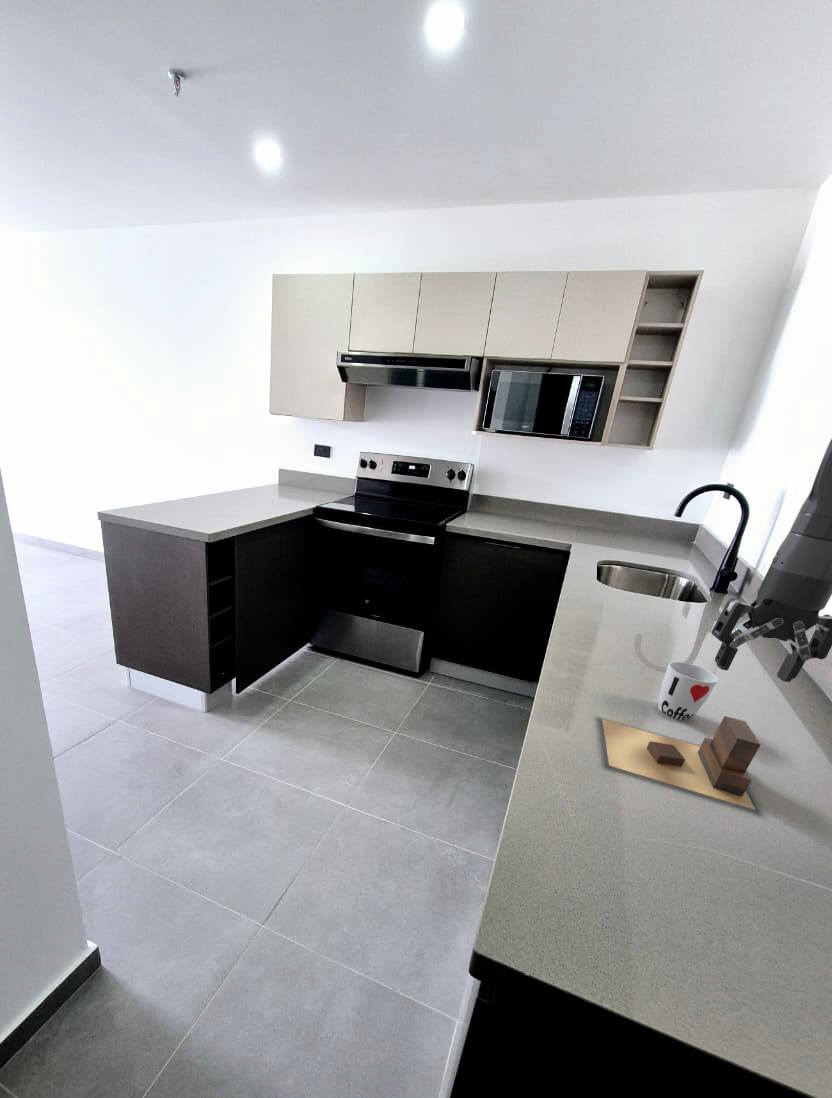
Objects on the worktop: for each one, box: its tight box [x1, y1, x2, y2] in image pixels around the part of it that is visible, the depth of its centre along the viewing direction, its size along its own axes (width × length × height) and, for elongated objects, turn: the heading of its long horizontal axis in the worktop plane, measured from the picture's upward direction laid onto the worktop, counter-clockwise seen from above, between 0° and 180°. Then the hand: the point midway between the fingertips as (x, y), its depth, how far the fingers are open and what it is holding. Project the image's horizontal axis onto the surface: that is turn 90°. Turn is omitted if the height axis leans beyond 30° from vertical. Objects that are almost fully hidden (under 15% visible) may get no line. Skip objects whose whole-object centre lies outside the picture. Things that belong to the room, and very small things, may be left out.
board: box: [602, 719, 756, 811], centre depth 83 cm, size 20×15×1 cm
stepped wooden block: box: [698, 715, 762, 796], centre depth 79 cm, size 4×10×8 cm, turn 159°
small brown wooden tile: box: [647, 741, 685, 767], centre depth 82 cm, size 4×4×2 cm
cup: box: [658, 661, 719, 721], centre depth 96 cm, size 8×8×10 cm
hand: (752, 673), depth 75 cm, fingers open, 8 cm apart
